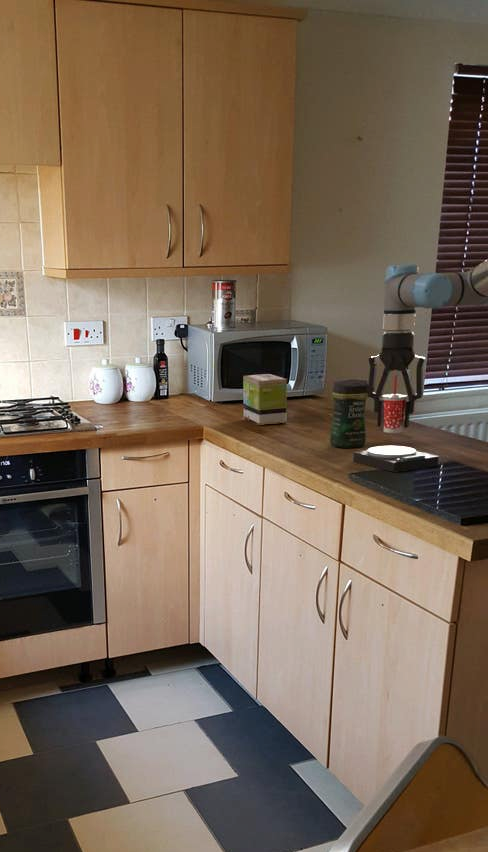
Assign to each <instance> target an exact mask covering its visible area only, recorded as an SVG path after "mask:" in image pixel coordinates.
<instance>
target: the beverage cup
mask: <svg viewBox="0 0 488 852" xmlns="http://www.w3.org/2000/svg"><path fill="white" fill-rule="evenodd" d="M397 382H398V375H397V374H395V375H394V385H393V386H394V388H393V393H389V394H382V395H381V399H383V421H382V428H383V432H384V433H386V434H387V433H388V434H398V433H402V432H403V428H404V420H405V403H406V401H407V400H408V394H403V393H402V394H401V393H397V384H398V383H397Z"/></svg>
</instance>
